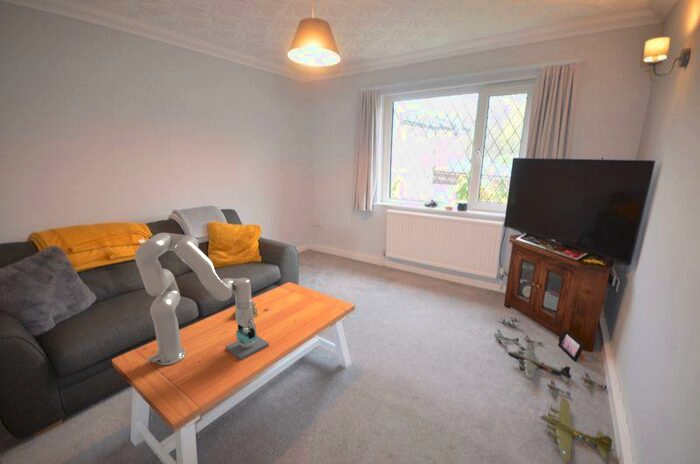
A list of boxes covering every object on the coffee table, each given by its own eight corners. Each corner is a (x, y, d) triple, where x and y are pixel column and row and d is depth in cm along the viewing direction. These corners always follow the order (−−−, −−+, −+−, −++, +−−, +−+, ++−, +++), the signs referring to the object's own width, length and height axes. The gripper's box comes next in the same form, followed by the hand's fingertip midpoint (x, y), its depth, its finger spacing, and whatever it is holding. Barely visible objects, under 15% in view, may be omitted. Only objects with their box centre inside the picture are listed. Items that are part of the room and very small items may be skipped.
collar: (244, 344, 154) (243, 335, 153) (236, 339, 159) (236, 330, 158) (256, 338, 159) (256, 330, 158) (249, 333, 164) (248, 325, 163)
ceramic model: (259, 309, 200) (258, 294, 198) (257, 318, 190) (255, 302, 187) (236, 310, 198) (235, 296, 196) (232, 319, 188) (231, 304, 185)
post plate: (240, 360, 150) (238, 340, 147) (225, 348, 159) (224, 330, 156) (268, 345, 162) (267, 327, 159) (254, 335, 171) (252, 318, 168)
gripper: (227, 300, 157) (230, 331, 161) (246, 311, 146) (249, 344, 150) (241, 295, 163) (244, 325, 167) (260, 305, 152) (262, 337, 156)
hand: (246, 334), depth 159 cm, fingers open, 9 cm apart
